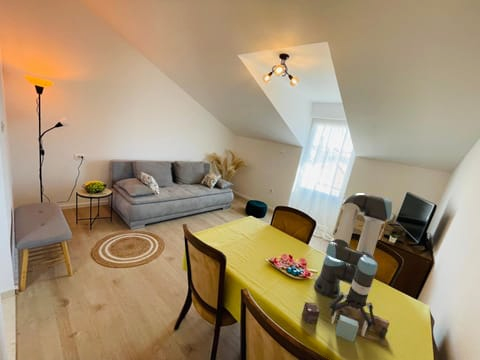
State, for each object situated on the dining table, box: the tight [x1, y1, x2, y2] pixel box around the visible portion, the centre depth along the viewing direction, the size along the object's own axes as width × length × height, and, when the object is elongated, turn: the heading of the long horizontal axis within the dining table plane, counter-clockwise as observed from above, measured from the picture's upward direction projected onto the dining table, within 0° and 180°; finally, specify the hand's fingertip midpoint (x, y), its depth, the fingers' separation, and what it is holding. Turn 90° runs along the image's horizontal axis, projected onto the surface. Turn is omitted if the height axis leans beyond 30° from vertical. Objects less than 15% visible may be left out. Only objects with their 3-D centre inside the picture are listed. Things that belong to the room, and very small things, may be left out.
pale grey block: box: [335, 315, 360, 343], centre depth 110 cm, size 8×4×9 cm, turn 69°
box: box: [302, 301, 321, 325], centre depth 118 cm, size 6×6×7 cm
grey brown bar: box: [335, 301, 391, 347], centre depth 116 cm, size 23×8×8 cm, turn 69°
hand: (347, 327), depth 110 cm, fingers open, 13 cm apart
